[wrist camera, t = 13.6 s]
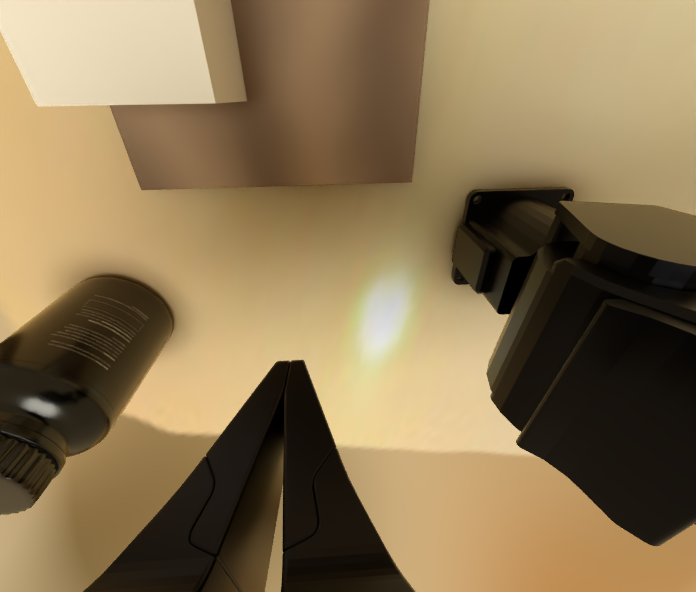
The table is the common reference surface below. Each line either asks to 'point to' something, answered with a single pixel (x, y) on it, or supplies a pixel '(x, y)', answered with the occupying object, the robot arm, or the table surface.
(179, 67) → the white carton
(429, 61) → the table surface
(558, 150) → the table surface
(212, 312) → the table surface
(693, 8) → the table surface
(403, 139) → the base plate
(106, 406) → the supplement bottle
